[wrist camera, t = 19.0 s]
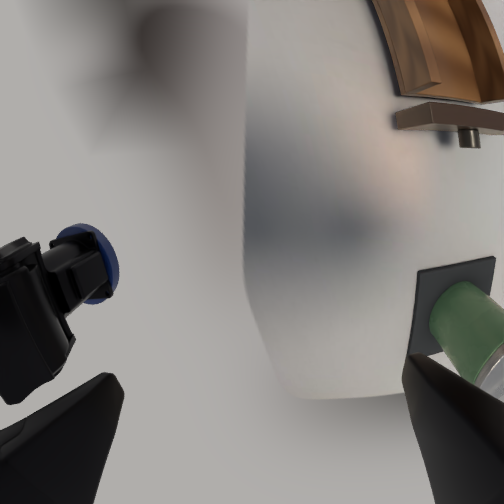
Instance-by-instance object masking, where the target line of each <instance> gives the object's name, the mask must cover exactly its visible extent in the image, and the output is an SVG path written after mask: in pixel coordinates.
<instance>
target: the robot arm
mask: <svg viewBox="0 0 504 504" xmlns="http://www.w3.org/2000/svg"><path fill="white" fill-rule="evenodd" d="M90 235H91V238H90ZM53 244H54V245H53ZM49 246H50V250H49V251H47V252H45V253H43V254H41V251H40V244H39V242H36V243H33V244H32V243H31V242H28V240H27V239H26V238H25V237H22V238H20V239H17V240H15V241H13V242H11V243H8V244H6V245H4V246H3V247H1V248H0V396H1V397H2V398H3V400H4V401H5V403H6V404H8V405H12V404H18V403H21V402H22V401H23V400H24V399H25V398H26V397H27V396H28V395H29V394H30V393H31V392H32V391H34V390H35V389H36V388H38V387H39V386H41V385H42V384H44V383H46V382H49V381H51V380H53V379H54V378H55V376H57V375H58V374H59V373H60V371H61V370H62V368H63V366H64V364H65V363H66V360H67V357H68V355H69V353H70V351H71V349H72V347H73V345H74V343H75V341H76V338H75V336H74V334H72V332H71V330H70V328H69V326H68V324H67V321H66V319H65V318H66V317H67V316H68V315H69V314H71V313H72V312H73V311H74V310H75V309H76V308H77V307H79V306H80V305H81V304H82V303H83V302H84V301H86V300H88V299H106V298H111V297H112V296H113V289H112V287H111V284H110V281H109V278H108V275H107V271H106V268H105V265H104V262H103V259H102V255H101V252H100V248H99V245H98V241H97V238H96V234H95V232H94V231H92V230H90V231H86V232H82V233H78V234H74V235H70V236H66V237H62V238H58V239H54V240H52V241H50V243H49ZM107 291H108V292H109V294H108V292H107ZM402 384H403V388H404V392H405V396H406V400H407V404H408V409H409V413H410V418H411V422H412V425H413V429H414V432H415V435H416V438H417V441H418V444H419V447H420V450H421V453H422V457H423V460H424V463H425V467H426V470H427V473H428V477H429V481H430V485H431V488H432V492H433V496H434V500H435V504H504V403H503V402H502V401H500V400H498V399H497V398H495V397H493V396H492V395H490V394H488V393H487V392H485V391H484V390H482V389H480V388H479V387H477V386H475V385H474V384H472V383H470V382H469V381H467V380H465V379H464V378H462V377H460V376H459V375H457V374H456V373H454V372H452V371H451V370H449V369H447V368H446V367H444V366H442V365H441V364H439V363H437V362H436V361H434V360H432V359H431V358H429V357H427V356H426V355H424V354H422V353H420V352H417V353H413V354H409V355H407V357H406V359H405V364H404V368H403V373H402ZM123 400H124V391H123V389H122V387H121V385H120V383H119V382H118V380H117V378H116V376H115V375H114V374H112V373H106V372H104V373H101V374H99V375H97V376H96V377H94V378H92V379H91V380H89V381H87V382H86V383H84V384H82V385H81V386H79V387H77V388H76V389H74V390H72V391H71V392H69V393H67V394H65V395H64V396H62V397H60V398H59V399H57V400H55V401H54V402H52V403H50V404H48V405H46V406H45V407H43V408H41V409H40V410H38V411H36V412H34V413H33V414H31V415H29V416H27V417H26V418H24V419H22V420H20V421H18V422H16V423H14V424H13V425H11V426H9V427H7V428H4V429H2V430H0V504H93V503H94V500H95V496H96V492H97V489H98V486H99V482H100V479H101V476H102V472H103V469H104V466H105V463H106V460H107V457H108V454H109V450H110V448H111V445H112V442H113V439H114V435H115V433H116V429H117V425H118V420H119V416H120V411H121V408H122V404H123Z"/></svg>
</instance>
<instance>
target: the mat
mask: <svg viewBox="0 0 504 504" xmlns="http://www.w3.org/2000/svg"><path fill="white" fill-rule="evenodd" d="M495 262H496V258H495V257H494V256H492V257H487V258H482V259H478V260H473V261H468V262H463V263H459V264H454V265H448V266H443V267H438V268H433V269H427V270H422V271H418V276H417V288H416V298H415V307H414V315H413V322H412V329H411V335H410V341H409V346H408V352H407V355H409V354H413V353H417V352H420V353H422V354H424V355H426V356H429V355H433V354H436V353H439V352H443V349H442V348H441V346H440V345H439V344H438V342H437V341H436V339H435V338H434V337H433V335H432V334H431V332H430V328H429V319H430V315H431V311H432V309H433V307H434V305H435V303H436V302H437V300H438V299H439V297H440V296H441V295H442V294H443V293H444V292H445V291H446V290H447V289H448V288H449V287H451V286H452V285H454V284H456V283H458V282H462V281H468V282H471V283H473V284H474V285H476V286H477V287H478V288H479V289H481V290H482V291H483V292H484V293H485V294H487V295H488V296H490V291H491V286H492V280H493V275H494V268H495Z"/></svg>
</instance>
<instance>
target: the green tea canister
mask: <svg viewBox="0 0 504 504" xmlns="http://www.w3.org/2000/svg"><path fill="white" fill-rule="evenodd" d="M429 328H430V332H431V334H432V335H433V337H434V338H435V339H436V341H437V342H438V344H439V345H440V346H441V348H442V349H443V351H444V352H445V354H446V355H447V357H448V358H449V359H450V361H451V362H452V364H453V365H454V367H455V368H456V370H457V371H458V373H459V375H460V376H461V377H462V378H464V379H465V380H467V381H469V382H470V383H472V384H474V385H475V386H477V387H479V388H480V389H482V390H484V391H485V392H487V393H488V394H490V395H492V396H493V397H495V398H497V399H498V398H499V397H501V396H502V395H503V394H504V309H503V308H502V307H501V306H500V305H498V304H497V303H496V302H495V301H494V300H493V299H491V298H490V297H489V296H488V295H487V294H485V293H484V292H483V291H482V290H481V289H479V288H478V287H477V286H476V285H474V284H473V283H471V282H468V281H462V282H458V283H456V284H454V285H452V286H451V287H449V288H448V289H447V290H446V291H445V292H444V293H443V294H442V295H441V296H440V297H439V299H438V300H437V302H436V303H435V305H434V307H433V309H432V311H431V315H430V319H429Z"/></svg>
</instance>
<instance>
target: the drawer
mask: <svg viewBox="0 0 504 504" xmlns="http://www.w3.org/2000/svg"><path fill="white" fill-rule="evenodd" d="M372 1H373V4H374V6H375V9H376V12H377V14H378V17H379V19H380V22H381V25H382V28H383V31H384V34H385V37H386V40H387V43H388V46H389V50H390V53H391V57H392V60H393V64H394V67H395V71H396V75H397V79H398V84H399V88H400V93H401V95H406V96H421V97H432V98H441V99H449V100H457V101H464V102H470V103H475V104H481V105H483V104H490V103H497V102H504V53H503V50H502V47H501V45H500V42H499V39H498V37H497V34H496V31H495V29H494V27H493V24H492V22H491V20H490V17H489V15H488V13H487V11H486V9H485V7H484V5H483V3H482V1H481V0H372ZM395 114H396V120H397V126H398V130H435V131H453V132H458V138H459V146H460V148H481V147H480V138H479V134H486V135H504V113H501V112H496V111H491V110H486V109H481V108H475V107H469V106H462V105H455V104H447V103H437V102H427V103H424V104H420V105H417V106H414V107H411V108H408V109H405V110H402V111H399V112H396V113H395Z"/></svg>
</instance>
